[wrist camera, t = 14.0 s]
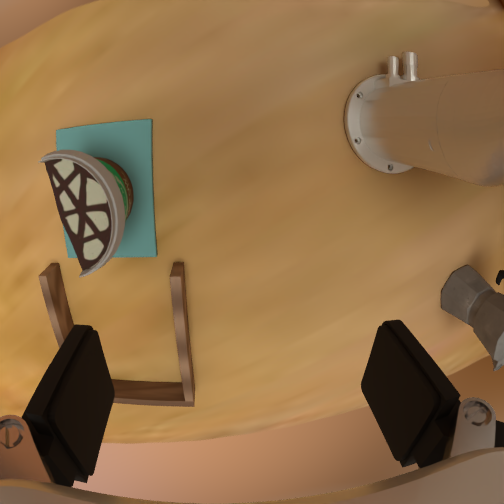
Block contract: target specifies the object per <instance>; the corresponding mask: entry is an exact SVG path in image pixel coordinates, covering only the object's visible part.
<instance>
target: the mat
mask: <svg viewBox="0 0 504 504" xmlns="http://www.w3.org/2000/svg"><path fill="white" fill-rule="evenodd" d="M56 144H57V151H59V150H76V151H80V152H83V153H86V154H88V155H90V156H92V157H101V158H106V159H109V160H111V161H113V162H115V163H117V164H118V165H119V166H120V167H122V168H123V169H124V171H125V172H126V173H127V175H128V177H129V178H130V181H131V183H132V187H133V195H134V202H133V205H132V209H131V213H130V215H129V216H128V218H127V220H126V222H125V227H124V233H123V237H122V240H121V243H120V245H119V247H118V249H117V251H116V253H115V254H114V255H113V257H157V245H156V231H155V215H154V195H153V164H152V119H146V120H133V121H122V122H112V123H103V124H95V125H87V126H80V127H73V128H66V129H60V130H56ZM63 228H64V226H63ZM64 234H65V241H66V247H67V253H68V258H77V255H76V253H75V250H74V248H73V245H72V243H71V241H70V239H69V236H68V234H67V232H66V230H65V228H64Z"/></svg>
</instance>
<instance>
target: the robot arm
mask: <svg viewBox="0 0 504 504" xmlns="http://www.w3.org/2000/svg"><path fill="white" fill-rule="evenodd" d="M402 61H403V75H401V76H399V75H398V68H399V58H397V57H394V56H388V57H387V67H388V74H381V75H375V76H372V77H369V78H367V79H365V80H363V81H361V82H360V83H359V84H358V85H357V86H356V87H355V88H354V90H353V91H352V92H351V94H350V96H349V98H348V101H347V103H346V108H345V116H344V123H345V131H346V134H347V137H348V141H349V143H350V145H351V147H352V149H353V150H354V152H355V153H356V154H357V156H358V157H359V158H360V159H361V160H362V161H363V162H364V163H365V164H367V165H368V166H370V167H371V168H373V169H375V170H378V171H380V172H385V173H391V174H397V173H403V172H405V171H408V170H410V169H412V168H413V167H417V168H421V169H425V170H428V171H432V172H436V173H439V174H443V175H447V176H450V177H454V178H457V179H460V180H464V181H467V182H470V183H474V184H477V185H481V186H488V187H494V186H499V185H503V184H504V69H499V70H492V71H484V72H475V73H465V74H458V75H450V76H442V77H435V78H428V79H422V80H420V78H418V77H417V68H418V57H417V54H416V53H413V52H403V53H402ZM357 94H358V97H357ZM355 138H356V140H357V141H356V142H355ZM388 166H389V167H388ZM361 389H362V392H363V394H364V396H365V398H366V400H367V402H368V404H369V406H370V408H371V410H372V412H373V414H374V416H375V418H376V421H377V423H378V425H379V427H380V429H381V431H382V433H383V435H384V437H385V439H386V442H387V443H388V445H389V448H390V450H391V452H392V454H393V456H394V458H395V459H396V460H397V461H400V463H401V465H402V467H406V466H409V465H412V464H414V463H416V462H417V464H418V466H419V468H418V470H415V471H412V472H408V473H405V474H402V475H399V476H396V477H393V478H389V479H386V480H382V481H379V482H375V483H372V484H367V485H363V486H359V487H355V488H351V489H346V490H341V491H337V492H331V493H326V494H320V495H314V496H308V497H301V498H295V499H286V500H278V501H267V502H253V503H232V504H504V423H503V422H500V421H497V420H496V416H495V411H494V409H493V408H492V407H491V405H490V404H489V403H487V402H486V401H485V400H482V399H479V398H474V397H472V398H467V399H465V400H463V401H462V402H460V401H459V397H460V394H459V393H458V391H457V390H456V389H455V387H454V386H453V385H452V383H451V382H450V381H449V380H448V378H447V377H446V376H445V374H444V373H443V372H442V370H441V369H440V368H439V367H438V365H437V364H436V363H435V361H434V360H433V359H432V358H431V356H430V355H429V354H428V353H427V351H426V350H425V349H424V348H423V346H422V345H421V344H420V343H419V342H418V340H417V339H416V338H415V337H414V335H413V334H412V333H411V332H410V331H409V329H408V328H407V327H406V326H405V325H404V323H403V322H402V321H401V320H391V321H385V322H383V324H382V326H379V327H378V330H377V333H376V337H375V340H374V344H373V347H372V350H371V354H370V357H369V360H368V363H367V366H366V369H365V373H364V376H363V379H362V382H361ZM114 397H115V390H114V386H113V383H112V380H111V377H110V374H109V370H108V367H107V364H106V360H105V357H104V353H103V350H102V346H101V342H100V339H99V335H98V332H97V331H96V330H93V328H92V326H89V325H74V326H73V327H72V329H71V331H70V332H69V334H68V335H67V337H66V339H65V340H64V342H63V344H62V345H61V347H60V349H59V350H58V352H57V354H56V356H55V357H54V359H53V361H52V362H51V364H50V365H49V367H48V369H47V370H46V372H45V374H44V376H43V378H42V379H41V381H40V383H39V385H38V387H37V389H36V390H35V392H34V394H33V396H32V398H31V400H30V402H29V404H28V406H27V408H26V410H25V412H24V414H23V416H22V418H21V417H19V416H16V415H6V416H2V417H0V504H194V503H174V502H161V501H150V500H142V499H133V498H127V497H119V496H113V495H107V494H101V493H96V492H91V491H85V490H81V489H76V488H72V486H73V483H74V480H76V481H80V482H84V483H87V480H88V476H89V475H90V476H92V475H93V473H94V470H95V466H96V462H97V458H98V454H99V450H100V446H101V443H102V439H103V435H104V432H105V428H106V425H107V421H108V418H109V414H110V411H111V407H112V404H113V401H114ZM195 504H196V503H195Z"/></svg>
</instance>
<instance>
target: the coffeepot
mask: <svg viewBox="0 0 504 504" xmlns="http://www.w3.org/2000/svg"><path fill="white" fill-rule="evenodd" d="M502 279H504V270H500V271H499V273H498V275H497V278H496V283H497V284H498V285H500V282H501V280H502ZM441 304H442V309H443V310H445V311H447V312H448V313H450V314H452V315H453V316H455V317H457V318H458V319H460V320H462V321H463V322H465V323H467V324H468V325H470V326H472V327H473V328H474V329H473V331H474V333H475V334H476V335H477V337H478V338H479V340H480V341H481V342H482V344H483V345H484V347H485V348H486V350H487V351H488V352H489V354H490V355H491V357H492V360H493V365H494V369H493V371H495V370H498V369H500V368H501V366H503V365H504V295H503V294H501V293H499V292H497V293H496V292H495V290H494V289H493V288H492V287H491V286H490V285H489V284H488V283H487V282H486V281H485V280H484V279H483V278H482V276H481V275H480V274H479V273H478V272H476V271H475V270H474V269H473V268H471V267H470V266H469V265H467V266H464V267H461V268H459V269H457V270H456V271H455V272H453V273H452V275H451V276H450V277H449V278H448V280H447V281H446V283H445V285H444V287H443V290H442V293H441Z"/></svg>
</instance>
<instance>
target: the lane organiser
mask: <svg viewBox="0 0 504 504" xmlns="http://www.w3.org/2000/svg"><path fill="white" fill-rule="evenodd" d="M39 280H40V284H41V288H42V292H43V296H44V300H45V303H46V307H47V310H48V314H49V317H50V321H51V324H52V327H53V330H54V333H55V336H56V339H57V342H58V345H59V348H60V347H61V345H62V344H63V342H64V340H65V339H66V337H67V335H68V334H69V332H70V331H71V329H72V327H73V326H74V324H73V321H72V317H71V314H70V310H69V306H68V302H67V298H66V294H65V289H64V285H63V281H62V276H61V271H60V266H59V263H52V264H50V265H49V266H48V267H47V268H46V269H45V270H44V271H43V272H42V273H41V274H40V275H39ZM170 284H171V295H172V305H173V315H174V324H175V332H176V340H177V348H178V356H179V363H180V370H181V377H182V383H171V382H142V381H125V380H112V383H113V386H114V390H115V397H114V401H113V403H122V404H136V405H153V406H185V407H194V401H195V384H194V376H193V367H192V358H191V348H190V338H189V327H188V316H187V304H186V290H185V276H184V262H176V263H174V264H173V267H172V271H171V274H170Z"/></svg>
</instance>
